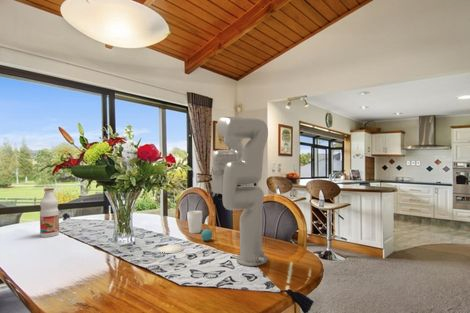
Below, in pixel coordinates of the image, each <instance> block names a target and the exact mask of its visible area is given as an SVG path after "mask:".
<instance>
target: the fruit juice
mask: <svg viewBox="0 0 470 313" xmlns="http://www.w3.org/2000/svg"><path fill="white" fill-rule="evenodd" d="M43 189H44V190H43V191H44V195H43V197H42V199H41V200H40V202H39V205H40V211H39V224H40V225H39V228H40V229H39V233H40V235H39V236H40V237H41V238H51V237H56V236H58V235H59V234H60V213H59V212H60V210H59V208H58V207H59V200H58V199H57V198H56V196H55V193H54V191H55V188H54V187H46V188H45V187H44V188H43Z"/></svg>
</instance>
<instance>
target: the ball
mask: <svg viewBox="0 0 470 313" xmlns="http://www.w3.org/2000/svg"><path fill="white" fill-rule="evenodd" d="M200 237H201V239H202V240H203V241H205V242H208V241H211V239H212V238H213V232H212V230H210V229H208V228H206V229H203V230H201V232H200Z"/></svg>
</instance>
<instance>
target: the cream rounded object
mask: <svg viewBox="0 0 470 313" xmlns="http://www.w3.org/2000/svg"><path fill="white" fill-rule="evenodd" d="M184 250H185V246H184V245H180V244H169V245H162V246H161V247H158V248H157V249H156V252H157V251H158V252H157V253H159V251H160V252H161V253H160V254H163V253H164V252H165V253H171V254H177V253H180V252H183V251H184ZM163 251H164V252H163ZM162 252H163V253H162Z"/></svg>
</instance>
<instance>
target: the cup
mask: <svg viewBox="0 0 470 313" xmlns="http://www.w3.org/2000/svg"><path fill="white" fill-rule="evenodd" d="M186 214H187V215H186V216H187V217H186V218H187V223H188V230H189V231H188V232H189V234H200V233H202V224H203V211H202V210H188V211H187V213H186Z"/></svg>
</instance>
